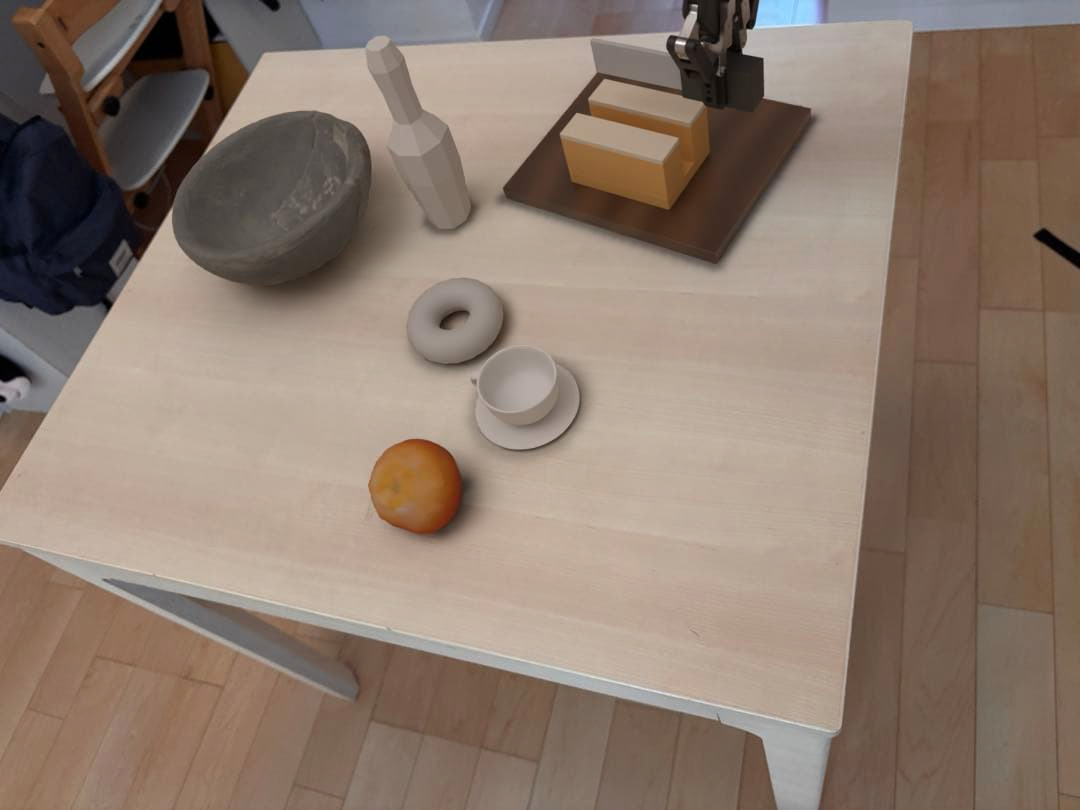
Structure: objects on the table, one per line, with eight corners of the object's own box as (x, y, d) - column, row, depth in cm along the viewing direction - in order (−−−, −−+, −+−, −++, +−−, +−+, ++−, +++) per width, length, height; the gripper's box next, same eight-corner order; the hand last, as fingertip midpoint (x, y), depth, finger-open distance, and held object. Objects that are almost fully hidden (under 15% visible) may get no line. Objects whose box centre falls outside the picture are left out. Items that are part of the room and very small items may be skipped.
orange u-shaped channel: (710, 152, 92) (706, 100, 86) (669, 210, 88) (662, 160, 83) (613, 128, 97) (604, 78, 92) (571, 181, 94) (559, 133, 88)
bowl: (263, 167, 110) (222, 103, 102) (421, 172, 103) (391, 103, 94) (178, 309, 99) (124, 249, 91) (348, 326, 92) (306, 263, 84)
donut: (525, 309, 88) (448, 280, 92) (518, 287, 85) (438, 259, 89) (472, 384, 84) (393, 351, 88) (462, 364, 81) (381, 331, 85)
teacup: (595, 372, 81) (586, 342, 78) (558, 462, 77) (547, 435, 73) (500, 354, 85) (487, 325, 81) (460, 439, 81) (444, 412, 77)
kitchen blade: (764, 96, 77) (764, 57, 74) (752, 113, 77) (751, 75, 73) (603, 63, 85) (596, 26, 82) (591, 78, 84) (583, 42, 81)
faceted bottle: (413, 226, 98) (332, 58, 80) (445, 188, 100) (373, 17, 82) (456, 241, 95) (382, 71, 77) (488, 202, 97) (423, 27, 79)
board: (810, 119, 93) (811, 108, 92) (716, 263, 85) (715, 253, 84) (605, 74, 105) (603, 64, 104) (505, 197, 97) (502, 187, 96)
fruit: (495, 457, 77) (446, 457, 70) (468, 540, 78) (417, 548, 71) (424, 427, 80) (371, 424, 73) (399, 506, 81) (344, 511, 74)
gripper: (713, -38, 60) (725, 155, 74) (799, -145, 65) (796, 54, 79) (620, -50, 64) (649, 136, 78) (709, -151, 69) (721, 41, 83)
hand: (723, 94), depth 78 cm, fingers closed on kitchen blade, 2 cm apart
